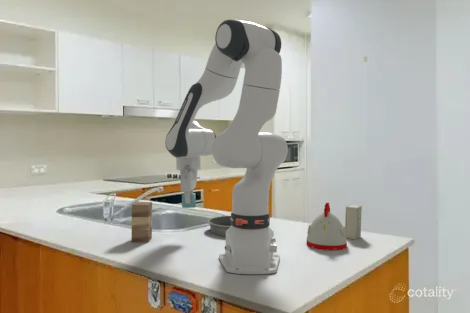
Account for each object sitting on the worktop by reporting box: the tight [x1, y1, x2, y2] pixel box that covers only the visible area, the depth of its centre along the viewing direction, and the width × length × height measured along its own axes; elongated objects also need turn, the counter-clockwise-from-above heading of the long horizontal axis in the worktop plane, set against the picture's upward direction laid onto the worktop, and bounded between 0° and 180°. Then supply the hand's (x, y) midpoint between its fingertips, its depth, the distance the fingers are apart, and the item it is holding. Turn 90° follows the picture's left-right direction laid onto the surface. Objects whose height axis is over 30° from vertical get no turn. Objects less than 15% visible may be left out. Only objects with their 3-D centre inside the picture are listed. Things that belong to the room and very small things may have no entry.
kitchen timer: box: [306, 202, 348, 251], centre depth 143 cm, size 14×14×15 cm
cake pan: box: [206, 215, 231, 237], centre depth 164 cm, size 25×25×4 cm
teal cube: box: [181, 192, 197, 209], centre depth 150 cm, size 5×5×5 cm
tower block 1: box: [131, 201, 153, 218], centre depth 146 cm, size 6×6×4 cm
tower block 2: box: [131, 214, 153, 231], centre depth 147 cm, size 6×6×4 cm
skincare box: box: [344, 204, 363, 240], centre depth 155 cm, size 6×4×12 cm
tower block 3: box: [131, 226, 153, 243], centre depth 147 cm, size 6×6×4 cm
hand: (188, 202), depth 150 cm, fingers closed on teal cube, 5 cm apart
